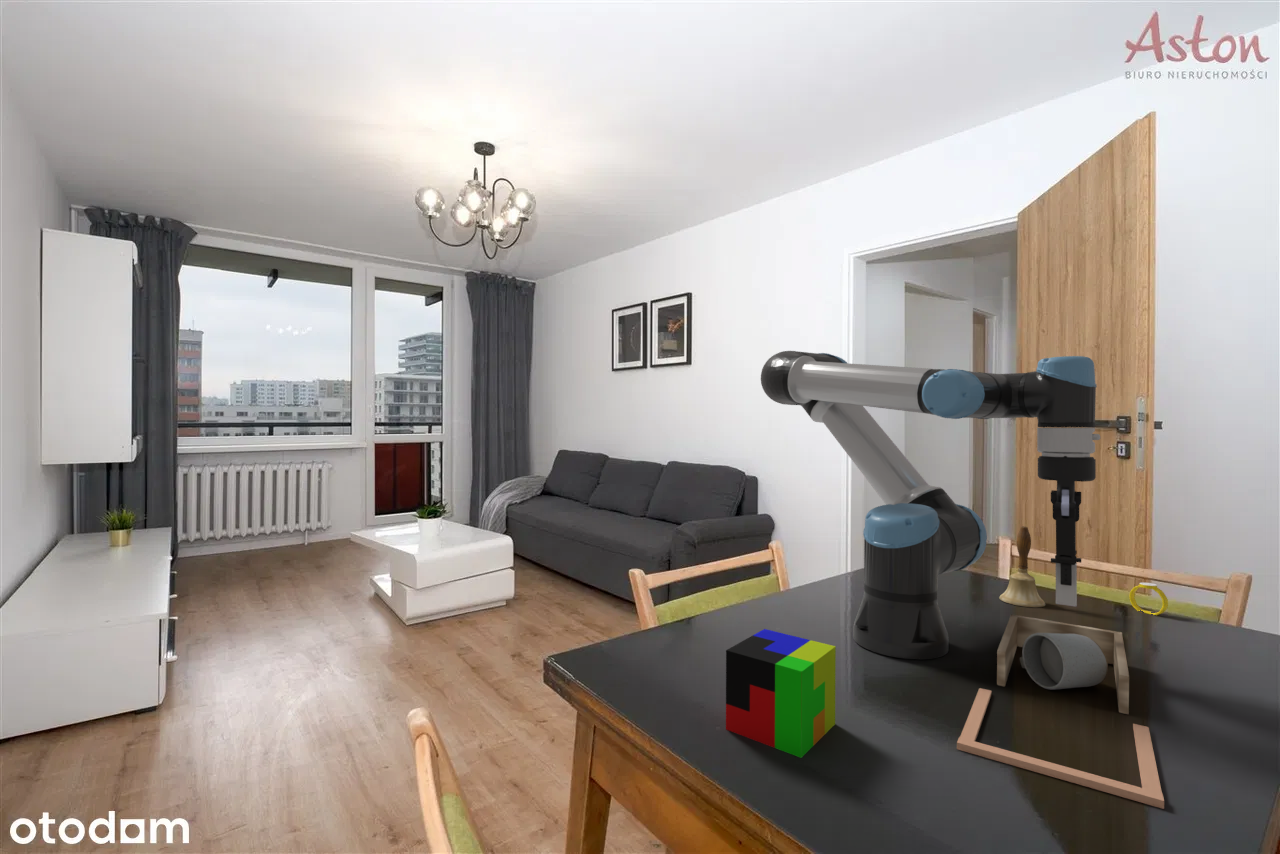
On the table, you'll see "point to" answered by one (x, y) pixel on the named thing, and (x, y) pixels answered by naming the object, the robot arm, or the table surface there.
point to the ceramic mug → (1063, 660)
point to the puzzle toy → (781, 690)
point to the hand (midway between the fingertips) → (1066, 603)
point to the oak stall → (1026, 626)
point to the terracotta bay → (1145, 755)
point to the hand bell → (1022, 577)
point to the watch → (1154, 587)
